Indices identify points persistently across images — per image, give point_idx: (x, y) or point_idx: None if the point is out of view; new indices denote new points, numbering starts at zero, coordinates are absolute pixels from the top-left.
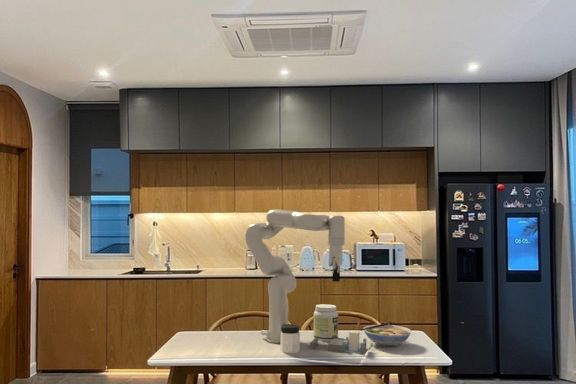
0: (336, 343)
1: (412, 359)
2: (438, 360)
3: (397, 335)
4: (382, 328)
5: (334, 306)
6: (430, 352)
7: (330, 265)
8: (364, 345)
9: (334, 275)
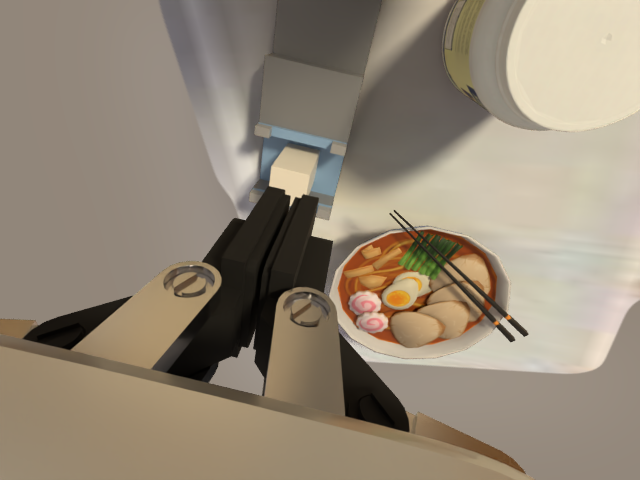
0: (282, 96)
1: None
2: None
3: None
4: (473, 292)
5: (564, 117)
6: None
7: (32, 365)
8: None
9: (212, 257)
